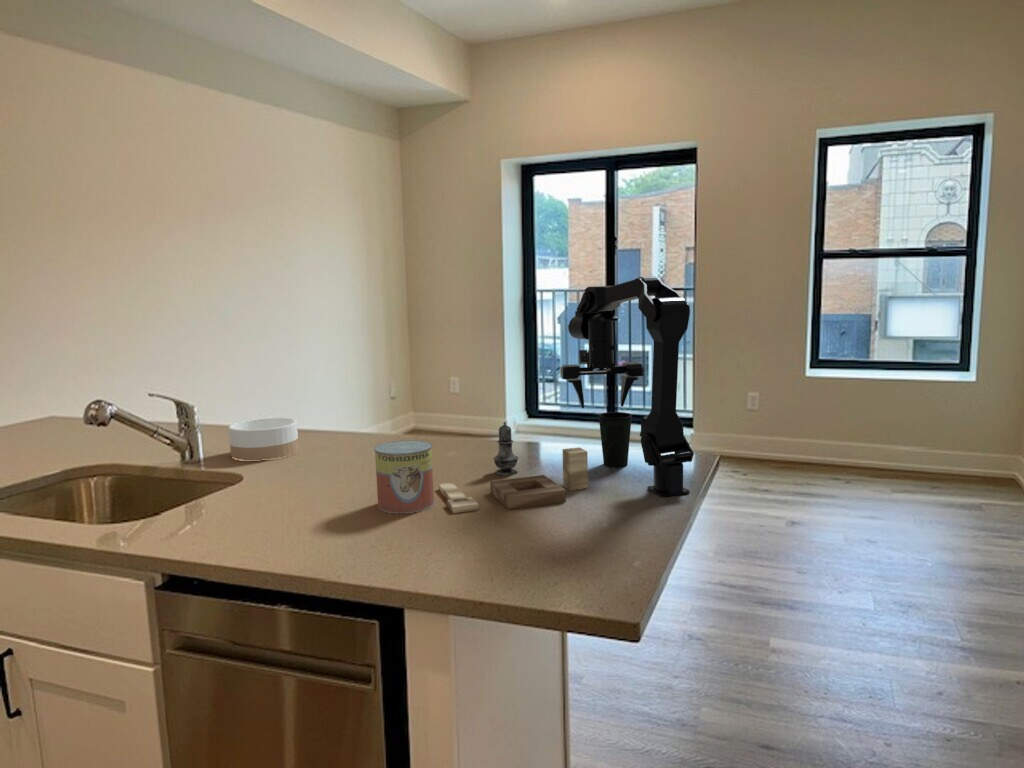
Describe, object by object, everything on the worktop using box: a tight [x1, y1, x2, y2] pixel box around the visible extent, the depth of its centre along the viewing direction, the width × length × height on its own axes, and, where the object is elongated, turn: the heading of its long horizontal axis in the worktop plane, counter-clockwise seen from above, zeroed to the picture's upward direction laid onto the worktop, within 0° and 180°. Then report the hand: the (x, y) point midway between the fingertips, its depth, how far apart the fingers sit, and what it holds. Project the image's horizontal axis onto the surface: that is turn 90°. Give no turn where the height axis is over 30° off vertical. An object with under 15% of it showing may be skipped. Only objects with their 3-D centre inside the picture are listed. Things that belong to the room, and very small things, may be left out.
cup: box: [598, 411, 633, 468], centre depth 171 cm, size 8×8×12 cm
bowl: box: [228, 417, 300, 460], centre depth 193 cm, size 17×17×8 cm
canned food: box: [374, 440, 435, 515], centre depth 144 cm, size 11×11×12 cm
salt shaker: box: [492, 421, 519, 477], centre depth 166 cm, size 6×6×12 cm
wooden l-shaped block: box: [438, 482, 479, 514], centre depth 148 cm, size 17×5×1 cm, turn 19°
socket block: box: [489, 474, 567, 510], centre depth 148 cm, size 12×12×2 cm
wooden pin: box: [562, 447, 589, 491], centre depth 154 cm, size 4×4×8 cm
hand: (602, 407), depth 170 cm, fingers open, 9 cm apart
